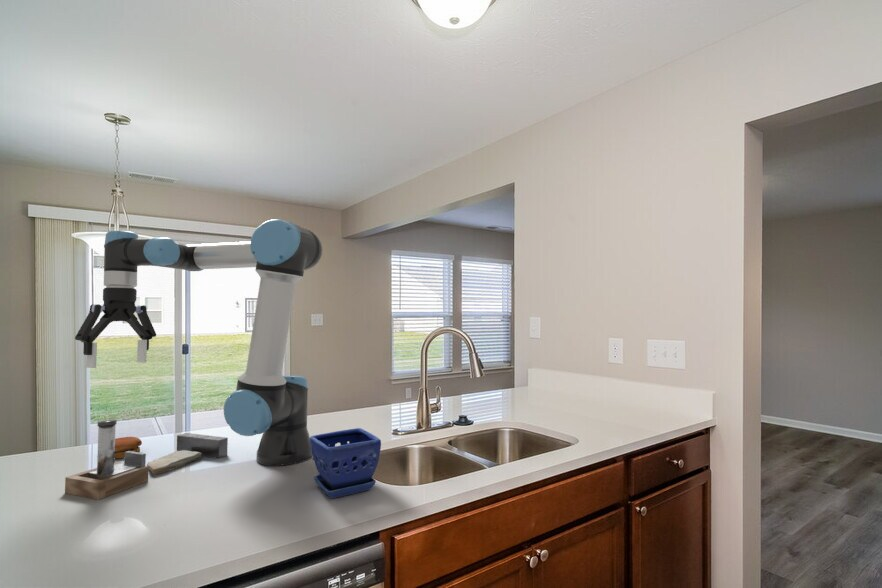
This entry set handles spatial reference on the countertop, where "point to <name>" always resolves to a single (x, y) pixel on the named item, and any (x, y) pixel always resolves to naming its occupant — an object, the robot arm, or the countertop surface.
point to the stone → (173, 461)
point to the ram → (108, 451)
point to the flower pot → (345, 461)
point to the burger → (126, 446)
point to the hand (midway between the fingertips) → (117, 365)
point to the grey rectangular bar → (203, 444)
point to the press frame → (104, 483)
